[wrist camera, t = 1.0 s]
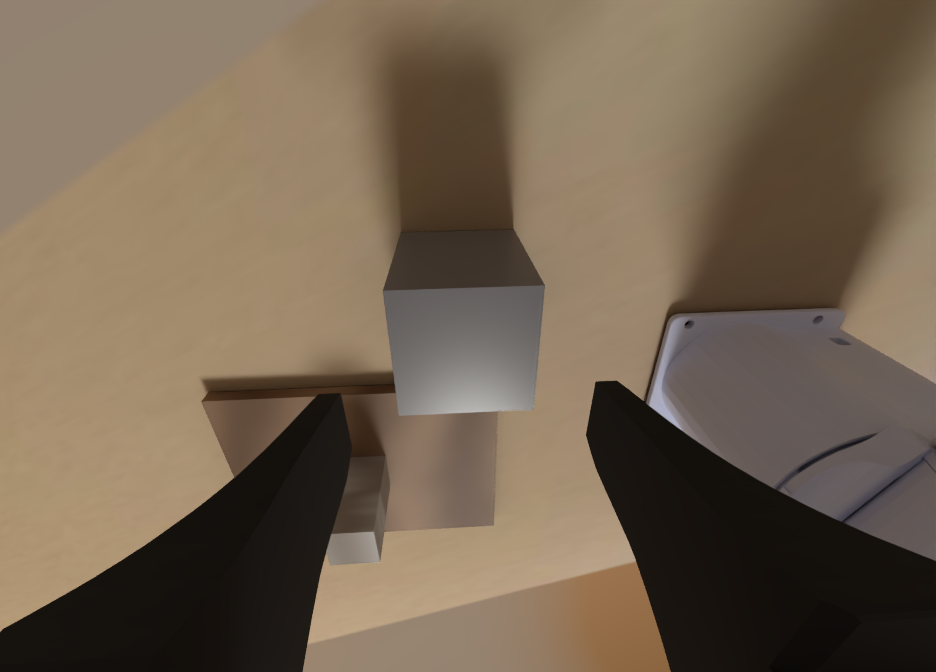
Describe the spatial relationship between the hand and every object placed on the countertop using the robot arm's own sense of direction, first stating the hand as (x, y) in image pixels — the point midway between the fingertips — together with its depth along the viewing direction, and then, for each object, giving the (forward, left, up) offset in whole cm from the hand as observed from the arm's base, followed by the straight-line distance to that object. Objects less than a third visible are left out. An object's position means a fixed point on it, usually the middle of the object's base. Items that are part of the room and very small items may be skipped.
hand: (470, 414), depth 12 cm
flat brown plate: (+6, +12, -10) cm, 17 cm away
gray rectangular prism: (0, 0, -10) cm, 10 cm away
